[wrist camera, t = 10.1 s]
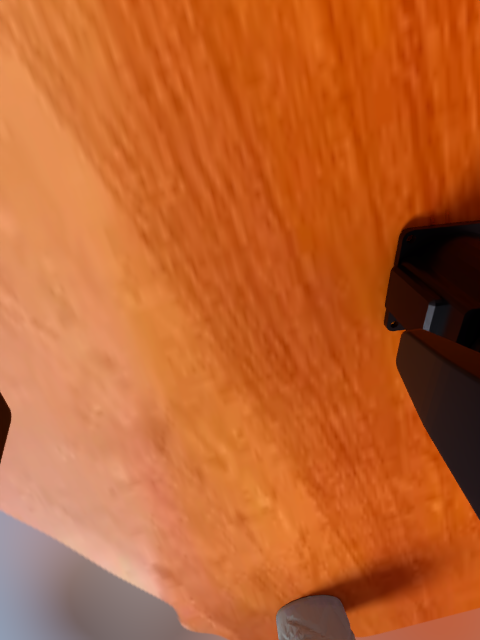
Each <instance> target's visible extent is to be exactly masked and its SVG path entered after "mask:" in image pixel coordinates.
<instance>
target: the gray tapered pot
mask: <svg viewBox="0 0 480 640" xmlns="http://www.w3.org/2000/svg"><path fill="white" fill-rule="evenodd" d="M276 622H277V630H278V638H279V640H355V636H354V634H353V632H352V630H351V629H350V623H349V620H348V618H347V615H346V612H345V610H344V607H343V604H342V603H341V601H340V600H339V599H338V598H336V597H334V596H329V595H315V596H308V597H305V598H301V599H298V600H295V601H293V602H291V603H289V604H287V605H285V606H283V607H282V608H281V609H280V610H279V611H278V613H277V615H276Z"/></svg>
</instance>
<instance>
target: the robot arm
mask: <svg viewBox="0 0 480 640" xmlns="http://www.w3.org/2000/svg"><path fill="white" fill-rule="evenodd" d="M410 235H412V238H411V239H410V240H409V241H407V238H408V237H409V236H410ZM385 307H386V313H385V319H384V325H385V327H386V328H387V329H388V330H390V331H398V330H406V331H404V332H403V333H402V335H401V338H400V343H399V348H398V353H397V357H396V365H397V369H398V371H399V373H400V375H401V378H402V380H403V382H404V384H405V386H406V389H407V391H408V393H409V395H410V397H411V400H412V402H413V404H414V406H415V408H416V411H417V413H418V415H419V417H420V419H421V421H422V423H423V425H424V427H425V429H426V430H427V432H428V434H429V436H430V437H431V439H432V441H433V442H434V444H435V446H436V448H437V449H438V451H439V453H440V454H441V456H442V458H443V459H444V461H445V463H446V464H447V466H448V468H449V469H450V471H451V473H452V474H453V476H454V478H455V479H456V481H457V483H458V484H459V486H460V488H461V490H462V491H463V493H464V495H465V496H466V498H467V500H468V501H469V503H470V505H471V506H472V508H473V510H474V511H475V513H476V515H477V516H478V518H479V520H480V220H479V221H470V222H460V223H451V224H441V225H432V226H422V227H412V228H407V229H405V230H404V231H402V233H401V234H400V236H399V240H398V246H397V251H396V257H395V262H394V267H393V268H392V270H391V273H390V279H389V284H388V290H387V296H386V302H385ZM393 321H395V322H394V323H393V324H391V323H392V322H393ZM10 423H11V411H10V408H9V407H8V405H7V403H6V401H5V399H4V398H3V396H2V394H1V392H0V463H1V459H2V455H3V451H4V447H5V443H6V439H7V435H8V431H9V427H10Z"/></svg>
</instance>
